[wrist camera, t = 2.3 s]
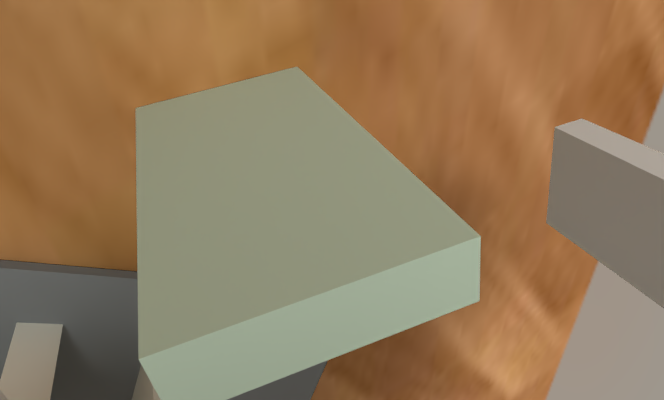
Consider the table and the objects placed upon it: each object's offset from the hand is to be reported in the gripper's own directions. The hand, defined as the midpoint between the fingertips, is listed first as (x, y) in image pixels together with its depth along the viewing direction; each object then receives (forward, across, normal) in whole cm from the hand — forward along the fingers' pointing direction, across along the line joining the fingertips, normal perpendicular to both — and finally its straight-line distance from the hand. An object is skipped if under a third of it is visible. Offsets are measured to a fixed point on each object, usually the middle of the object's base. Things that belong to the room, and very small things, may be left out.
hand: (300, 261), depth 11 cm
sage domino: (+10, 0, +1) cm, 10 cm away
